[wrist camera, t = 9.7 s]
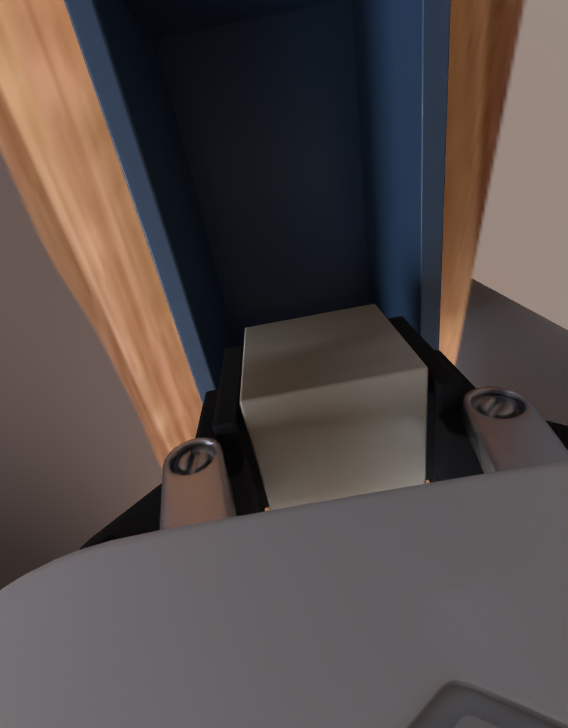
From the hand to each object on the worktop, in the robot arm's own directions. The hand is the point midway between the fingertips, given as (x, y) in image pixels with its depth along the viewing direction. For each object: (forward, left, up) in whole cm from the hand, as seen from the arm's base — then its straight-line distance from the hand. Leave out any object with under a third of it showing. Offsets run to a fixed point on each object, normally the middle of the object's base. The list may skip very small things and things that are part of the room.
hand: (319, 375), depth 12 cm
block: (0, 0, 0) cm, 0 cm away
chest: (-1, -4, -9) cm, 10 cm away
